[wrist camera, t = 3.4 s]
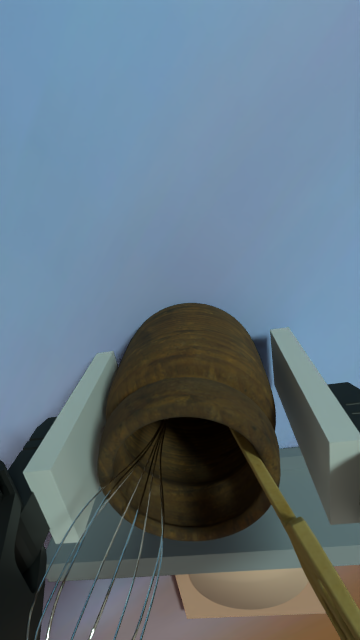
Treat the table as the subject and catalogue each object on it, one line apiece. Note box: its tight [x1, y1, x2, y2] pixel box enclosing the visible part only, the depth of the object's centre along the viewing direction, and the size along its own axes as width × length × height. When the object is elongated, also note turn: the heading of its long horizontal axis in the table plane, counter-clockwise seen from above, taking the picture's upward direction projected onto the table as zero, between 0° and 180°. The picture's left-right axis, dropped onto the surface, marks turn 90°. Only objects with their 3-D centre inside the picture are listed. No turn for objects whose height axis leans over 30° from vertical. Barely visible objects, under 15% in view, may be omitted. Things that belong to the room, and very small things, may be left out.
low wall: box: [46, 447, 360, 582], centre depth 16 cm, size 3×18×4 cm, turn 100°
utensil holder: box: [26, 303, 360, 640], centre depth 10 cm, size 6×6×12 cm
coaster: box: [175, 568, 326, 619], centre depth 20 cm, size 9×9×1 cm
